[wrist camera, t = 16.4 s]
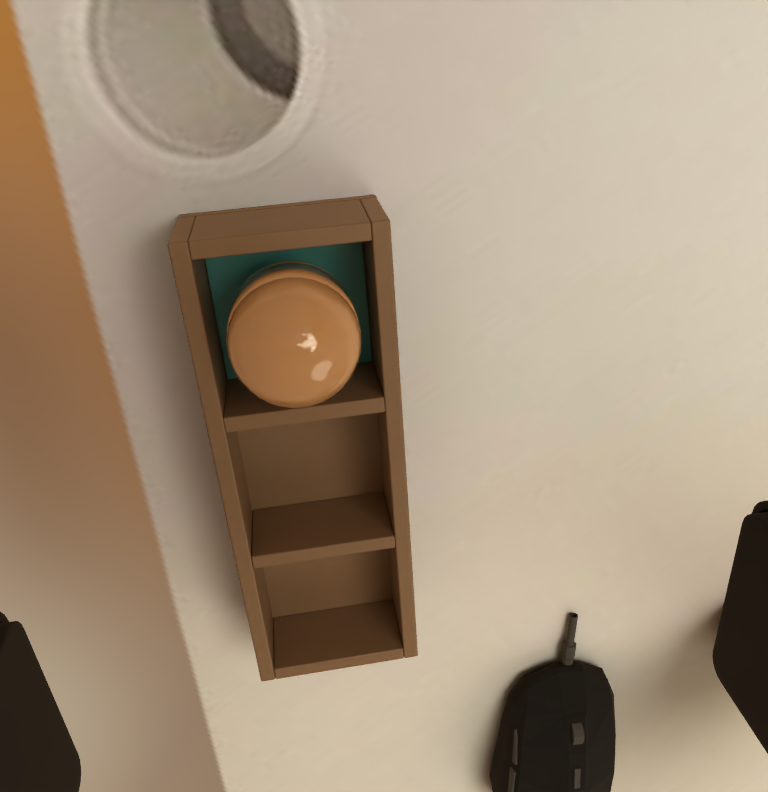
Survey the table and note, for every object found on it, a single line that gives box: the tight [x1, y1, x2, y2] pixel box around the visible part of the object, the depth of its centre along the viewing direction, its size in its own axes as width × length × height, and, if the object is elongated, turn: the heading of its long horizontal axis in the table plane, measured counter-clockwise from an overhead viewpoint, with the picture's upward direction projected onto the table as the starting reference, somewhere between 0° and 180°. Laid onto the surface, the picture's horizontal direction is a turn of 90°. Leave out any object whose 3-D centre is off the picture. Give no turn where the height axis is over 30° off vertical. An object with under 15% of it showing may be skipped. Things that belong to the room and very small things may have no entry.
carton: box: [168, 195, 418, 681], centre depth 28 cm, size 7×19×3 cm, turn 4°
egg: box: [226, 260, 361, 408], centre depth 23 cm, size 4×4×6 cm
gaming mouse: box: [490, 613, 616, 792], centre depth 38 cm, size 6×15×4 cm, turn 178°
